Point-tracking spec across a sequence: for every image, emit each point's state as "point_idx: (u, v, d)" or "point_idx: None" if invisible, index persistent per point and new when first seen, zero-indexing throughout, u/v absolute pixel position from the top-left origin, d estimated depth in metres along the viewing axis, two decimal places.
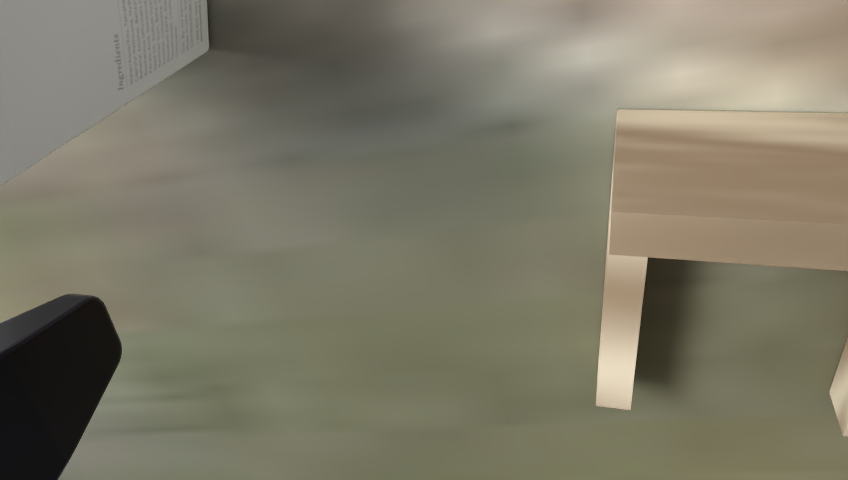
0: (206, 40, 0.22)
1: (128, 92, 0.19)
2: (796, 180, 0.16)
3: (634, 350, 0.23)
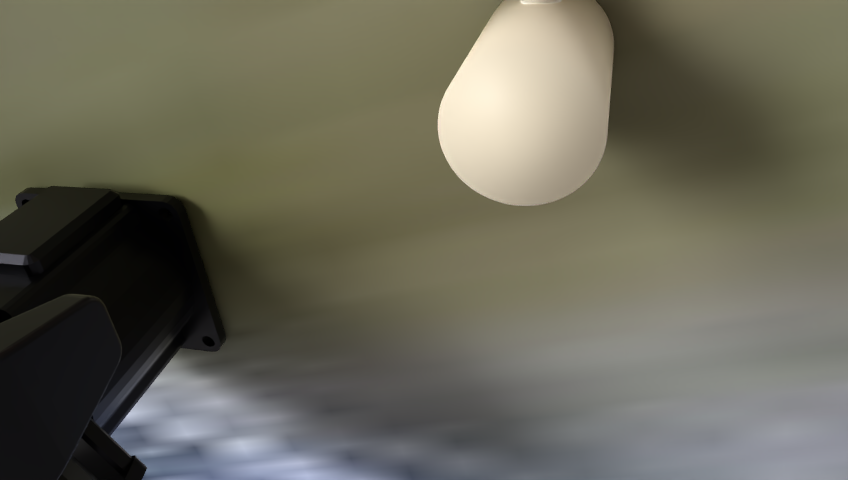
0: None
1: None
2: None
3: None
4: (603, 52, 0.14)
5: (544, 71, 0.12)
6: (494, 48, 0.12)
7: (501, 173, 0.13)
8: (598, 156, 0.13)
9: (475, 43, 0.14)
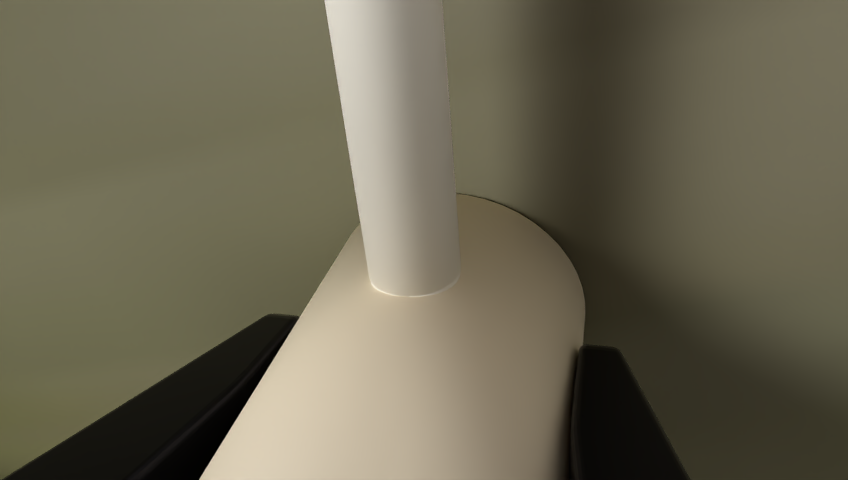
0: None
1: None
2: None
3: None
4: (547, 439, 0.06)
5: None
6: None
7: None
8: None
9: (252, 394, 0.06)
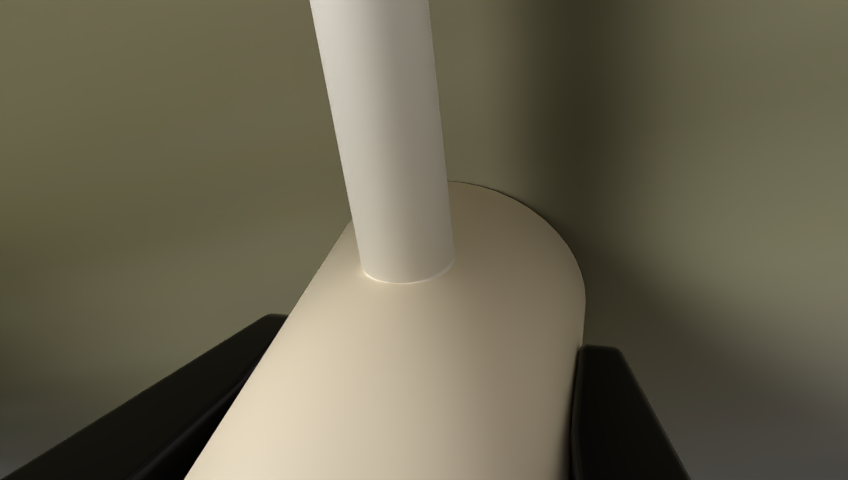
0: None
1: None
2: None
3: None
4: (545, 425, 0.06)
5: None
6: None
7: None
8: None
9: (244, 385, 0.06)
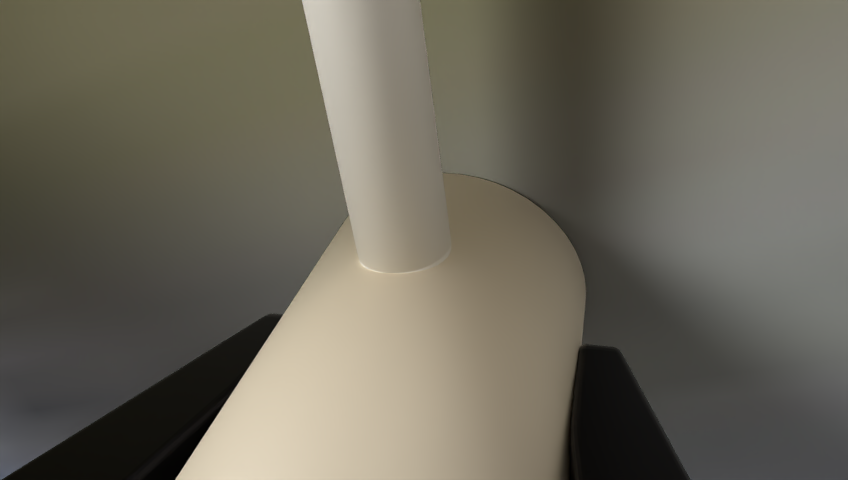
0: None
1: None
2: None
3: None
4: (543, 412, 0.06)
5: None
6: None
7: None
8: None
9: None
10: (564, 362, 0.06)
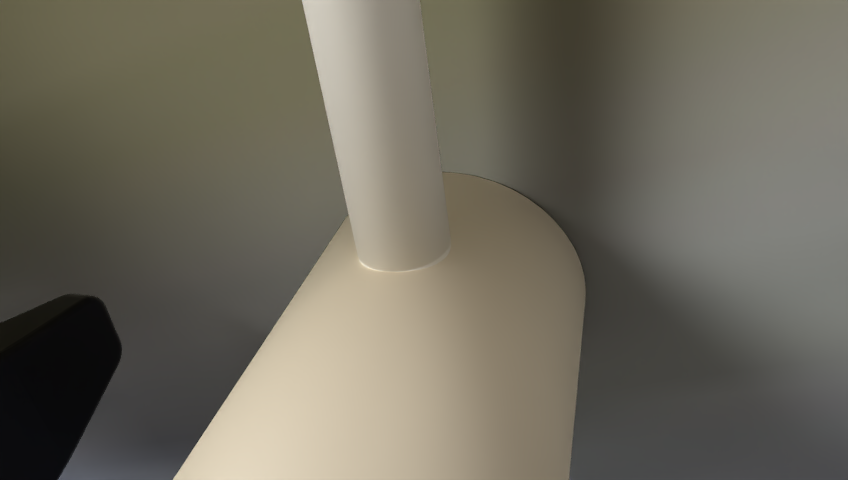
0: None
1: None
2: None
3: None
4: (542, 411, 0.06)
5: None
6: None
7: None
8: None
9: (241, 376, 0.06)
10: (564, 361, 0.06)
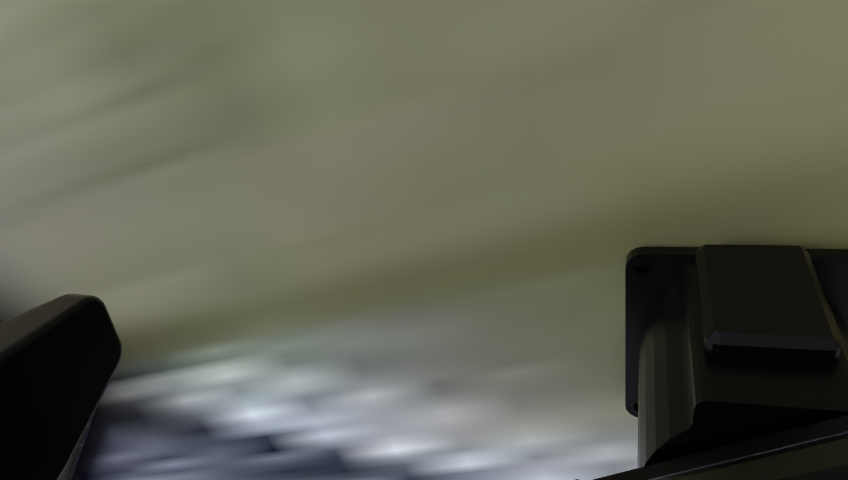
0: None
1: None
2: None
3: None
4: None
5: None
6: None
7: None
8: None
9: None
10: None
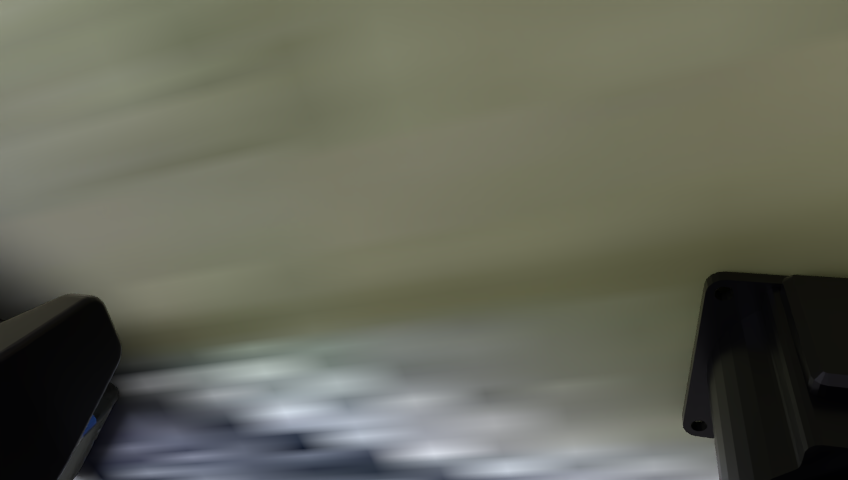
0: None
1: None
2: None
3: None
4: None
5: None
6: None
7: None
8: None
9: None
10: None
